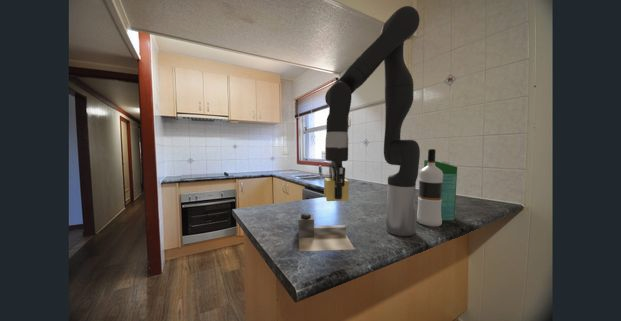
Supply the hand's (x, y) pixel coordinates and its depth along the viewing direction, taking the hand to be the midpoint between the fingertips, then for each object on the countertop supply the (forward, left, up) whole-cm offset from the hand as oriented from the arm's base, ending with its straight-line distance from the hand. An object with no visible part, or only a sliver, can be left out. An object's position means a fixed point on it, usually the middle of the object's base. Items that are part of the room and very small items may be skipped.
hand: (335, 196), depth 69 cm
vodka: (-40, -10, -14) cm, 44 cm away
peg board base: (+5, +3, -14) cm, 15 cm away
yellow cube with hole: (0, 0, -1) cm, 1 cm away
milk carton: (-50, -17, -14) cm, 54 cm away
